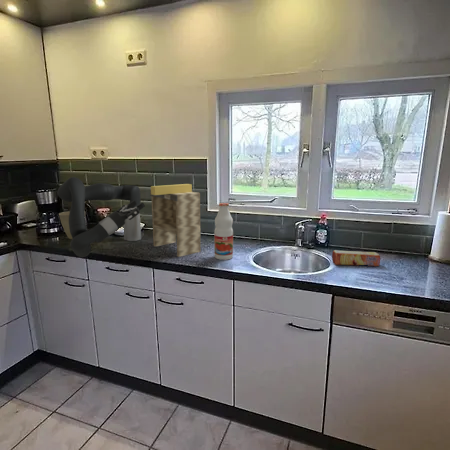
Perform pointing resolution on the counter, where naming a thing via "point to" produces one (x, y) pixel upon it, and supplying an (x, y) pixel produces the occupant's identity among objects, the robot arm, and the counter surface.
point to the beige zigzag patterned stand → (177, 221)
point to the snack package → (355, 258)
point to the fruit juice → (223, 233)
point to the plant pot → (66, 223)
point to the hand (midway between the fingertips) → (139, 203)
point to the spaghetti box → (171, 189)
